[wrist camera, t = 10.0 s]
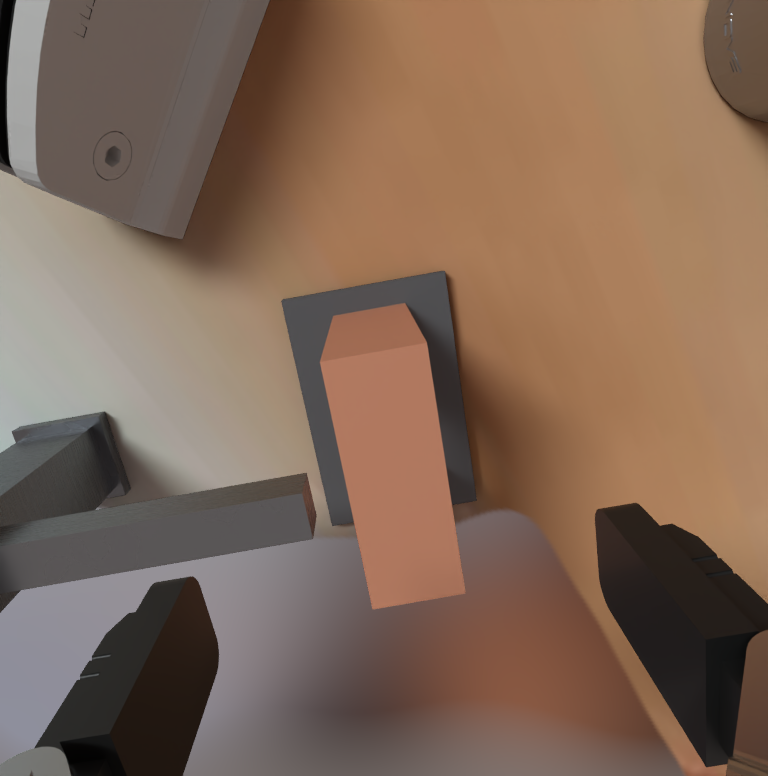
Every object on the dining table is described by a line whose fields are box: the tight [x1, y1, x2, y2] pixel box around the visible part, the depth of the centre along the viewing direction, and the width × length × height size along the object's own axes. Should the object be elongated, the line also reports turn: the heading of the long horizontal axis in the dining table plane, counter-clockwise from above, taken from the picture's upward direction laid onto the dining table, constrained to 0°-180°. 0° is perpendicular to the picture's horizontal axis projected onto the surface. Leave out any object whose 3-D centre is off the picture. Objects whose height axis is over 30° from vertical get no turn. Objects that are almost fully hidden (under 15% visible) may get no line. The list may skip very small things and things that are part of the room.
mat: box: [281, 271, 477, 526], centre depth 32 cm, size 9×14×1 cm, turn 10°
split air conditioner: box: [0, 0, 270, 239], centre depth 23 cm, size 17×5×10 cm, turn 155°
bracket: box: [0, 412, 316, 612], centre depth 26 cm, size 18×5×14 cm, turn 100°
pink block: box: [320, 303, 465, 609], centre depth 27 cm, size 4×11×10 cm, turn 10°
